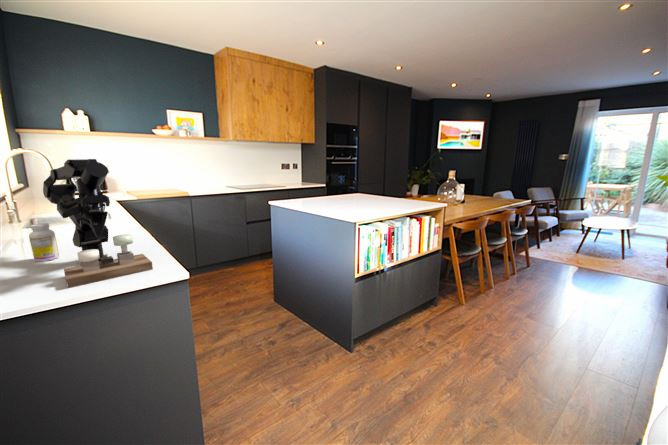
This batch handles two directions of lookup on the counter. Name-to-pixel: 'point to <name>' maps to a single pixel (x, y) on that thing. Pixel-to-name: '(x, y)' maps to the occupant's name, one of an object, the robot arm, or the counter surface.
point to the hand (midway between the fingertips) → (99, 237)
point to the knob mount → (106, 268)
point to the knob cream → (88, 255)
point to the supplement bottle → (43, 243)
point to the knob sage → (123, 242)
